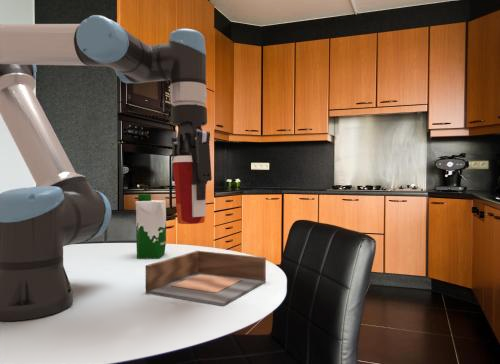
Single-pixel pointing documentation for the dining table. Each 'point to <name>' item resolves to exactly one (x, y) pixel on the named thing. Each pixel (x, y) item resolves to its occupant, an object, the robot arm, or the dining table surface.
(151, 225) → the milk carton
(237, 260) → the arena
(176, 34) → the robot arm
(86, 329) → the dining table surface
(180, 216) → the paper cup
